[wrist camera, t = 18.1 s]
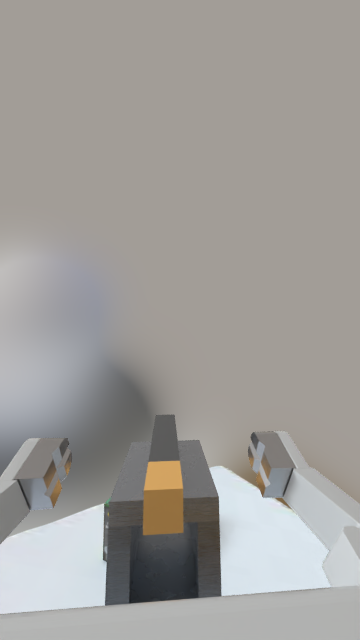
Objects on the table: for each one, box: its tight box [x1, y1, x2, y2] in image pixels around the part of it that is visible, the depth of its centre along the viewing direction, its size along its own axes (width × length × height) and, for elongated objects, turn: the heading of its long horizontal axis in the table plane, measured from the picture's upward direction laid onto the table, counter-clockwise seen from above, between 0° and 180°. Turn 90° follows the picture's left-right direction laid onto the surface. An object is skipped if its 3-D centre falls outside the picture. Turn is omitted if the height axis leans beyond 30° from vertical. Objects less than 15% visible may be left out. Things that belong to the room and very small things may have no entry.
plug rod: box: [143, 415, 183, 535], centre depth 24 cm, size 3×18×3 cm, turn 4°
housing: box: [105, 440, 221, 606], centre depth 23 cm, size 10×12×32 cm
